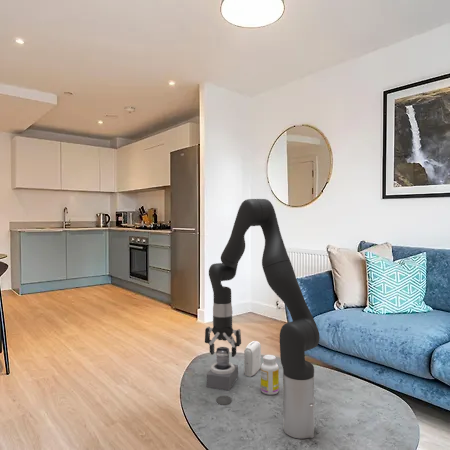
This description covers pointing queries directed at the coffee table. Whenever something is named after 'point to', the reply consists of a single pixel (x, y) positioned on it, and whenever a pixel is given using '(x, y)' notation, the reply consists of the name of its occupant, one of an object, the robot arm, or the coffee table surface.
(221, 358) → the lens
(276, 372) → the supplement bottle
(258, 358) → the photo printer
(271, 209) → the robot arm
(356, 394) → the coffee table surface
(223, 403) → the lens cap
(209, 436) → the coffee table surface
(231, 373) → the camera body
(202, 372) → the coffee table surface
